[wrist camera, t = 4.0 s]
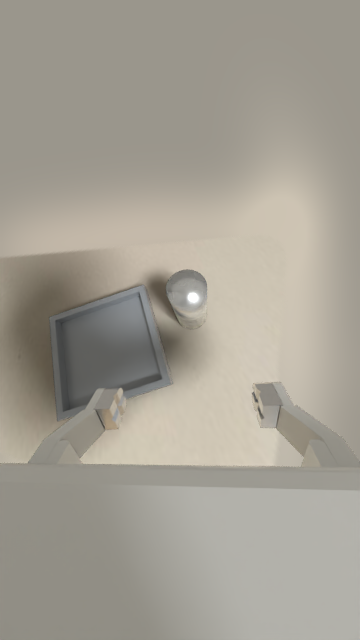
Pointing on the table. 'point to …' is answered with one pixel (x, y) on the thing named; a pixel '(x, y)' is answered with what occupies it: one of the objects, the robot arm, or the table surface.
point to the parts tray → (106, 350)
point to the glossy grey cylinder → (188, 297)
